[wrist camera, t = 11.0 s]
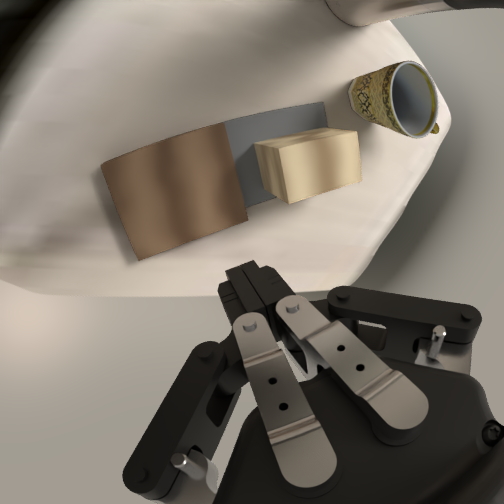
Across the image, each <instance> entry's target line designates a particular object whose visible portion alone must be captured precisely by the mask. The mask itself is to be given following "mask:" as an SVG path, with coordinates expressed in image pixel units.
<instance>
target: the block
mask: <svg viewBox="0 0 504 504" xmlns="http://www.w3.org/2000/svg"><path fill="white" fill-rule="evenodd" d="M254 146H255V150H256V155H257V160H258V164H259V169H260V173H261V178H262V183H263V187H264V189H265V190H266V191H268V192H270V193H271V194H273V195H275V196H276V197H278V198H280V199H281V200H283V201H285V202H286V203H288V204H291V203H294V202H297V201H300V200H303V199H306V198H309V197H312V196H315V195H319V194H322V193H325V192H328V191H331V190H334V189H337V188H341V187H344V186H347V185H350V184H353V183H357V182H360V181H362V172H361V161H360V152H359V143H358V134H357V131H350V130H342V129H333V128H324V127H323V128H318V129H313V130H308V131H303V132H299V133H294V134H290V135H285V136H281V137H277V138H273V139H268V140H264V141H260V142H256V143H254Z"/></svg>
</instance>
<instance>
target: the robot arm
mask: <svg viewBox="0 0 504 504" xmlns="http://www.w3.org/2000/svg"><path fill="white" fill-rule="evenodd" d="M326 2H327V4H328V6H329V8H330V9H331V10H332V11H333V13H334V14H335V15H336V16H337V17H338V18H340V19H341V20H342V21H344V22H346V23H348V24H350V25H353V26H359V27H360V26H366V25H369V24H373V23H378V22H382V21H387V20H391V19H396V18H400V17H406V16H412V15H418V14H424V13H431V12H439V11H447V10H461V9H474V8H504V0H326ZM225 272H226V276H227V279H228V281H225V282H223V283H220V284H219V287H218V294H219V296H220V299H221V302H222V304H223V307H224V309H225V312H226V314H227V317H228V319H229V321H230V324H231V326H232V330H231V333H230V334H229V336H228V337H227V338H226V339H225V340H223V341H222V342H220V343H217V342H214V341H207V342H203V343H201V344H199V345H197V346H196V347H195V348H194V349H193V350H192V352H191V354H190V356H189V357H188V359H187V360H186V362H185V364H184V366H183V367H182V369H181V371H180V372H179V374H178V376H177V378H176V379H175V381H174V383H173V385H172V386H171V388H170V390H169V391H168V393H167V395H166V397H165V398H164V400H163V402H162V403H161V405H160V407H159V409H158V410H157V412H156V414H155V416H154V417H153V419H152V421H151V423H150V424H149V426H148V428H147V429H146V431H145V433H144V435H143V436H142V438H141V440H140V442H139V443H138V445H137V447H136V448H135V450H134V452H133V454H132V455H131V457H130V459H129V461H128V462H127V464H126V466H125V468H124V470H123V474H122V476H123V482H124V484H125V486H126V487H127V488H128V489H129V490H130V491H132V492H134V493H137V494H139V495H141V496H143V497H144V498H146V499H148V500H151V501H153V502H156V503H159V504H504V426H503V425H501V424H499V423H498V422H497V421H496V420H495V418H494V416H493V414H492V412H491V410H490V408H489V405H488V402H487V398H486V394H485V391H484V389H483V387H482V386H481V384H480V383H479V382H478V381H477V380H475V378H473V377H471V376H470V367H471V353H472V343H473V340H474V338H475V336H476V334H477V331H478V329H479V326H480V324H481V321H482V317H481V314H480V312H479V311H478V310H477V309H476V308H475V307H473V306H471V305H467V304H460V303H453V302H446V301H439V300H433V299H426V298H419V297H412V296H406V295H400V294H394V293H387V292H380V291H375V290H369V289H362V288H357V287H350V286H339V287H335V288H333V289H332V290H331V291H330V292H329V293H328V295H327V299H323V300H318V301H308V300H306V299H305V298H304V297H302V296H298V295H296V294H295V293H294V292H293V291H292V289H291V288H290V287H289V286H288V284H287V283H286V282H285V281H284V280H283V278H282V277H281V276H280V275H279V274H278V272H277V271H276V270H275V269H274V268H271V267H269V266H264V267H261V268H259V267H258V265H257V264H256V263H255V261H254V260H252V261H250V262H247V263H244V264H242V265H240V266H237V267H234V268H231V269H229V270H226V271H225ZM359 320H360V321H365V322H370V323H375V324H381V325H383V326H385V327H386V328H387V329H384V328H379V327H373V326H368V325H363V324H359ZM281 340H282V342H283V344H284V346H285V350H286V353H287V354H288V356H289V357H290V358H291V359H292V361H293V362H294V364H295V365H296V366H297V367H298V369H299V370H300V371H301V373H302V374H303V375H304V376H305V378H306V379H307V381H303V382H298V381H297V379H296V377H295V375H294V373H293V371H292V369H291V367H290V365H289V363H288V360H287V358H286V356H285V354H284V352H283V350H282V349H279V347H278V344H277V342H278V341H281ZM248 382H250V385H251V388H252V391H253V393H254V396H255V399H256V402H257V405H258V406H257V407H256V408H255V409H254V410H253V411H252V412H251V413H250V414H249V415H248V417H247V418H246V419H245V421H244V423H243V425H242V428H241V430H240V433H239V436H238V439H237V442H236V444H235V447H234V449H233V452H232V455H231V457H230V460H229V463H228V466H227V468H226V471H225V473H224V476H223V478H222V481H221V483H220V486H219V488H218V490H217V479H218V470H217V467H216V466H215V465H214V463H212V462H211V460H212V457H213V455H214V453H215V451H216V449H217V446H218V444H219V442H220V439H221V437H222V435H223V433H224V431H225V428H226V426H227V424H228V422H229V419H230V417H231V415H232V412H233V410H234V407H235V405H236V403H237V400H238V398H239V396H240V393H241V387H243V386H244V385H245V384H246V383H248Z"/></svg>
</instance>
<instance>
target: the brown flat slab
mask: <svg viewBox="0 0 504 504" xmlns="http://www.w3.org/2000/svg"><path fill="white" fill-rule="evenodd" d="M101 168H102V171H103V174H104V176H105V179H106V182H107V185H108V188H109V190H110V193H111V196H112V198H113V201H114V203H115V206H116V209H117V211H118V214H119V216H120V219H121V221H122V224H123V226H124V228H125V231H126V233H127V236H128V238H129V240H130V243H131V245H132V247H133V249H134V252H135V254H136V256H137V258H138V261H140V260H142V259H145V258H148V257H150V256H153V255H155V254H158V253H161V252H163V251H166V250H168V249H171V248H174V247H176V246H179V245H182V244H184V243H187V242H190V241H192V240H195V239H198V238H201V237H203V236H206V235H209V234H211V233H214V232H217V231H220V230H222V229H225V228H228V227H231V226H234V225H236V224H239V223H242V222H245V221H248V216H247V212H246V208H245V204H244V200H243V196H242V192H241V188H240V184H239V180H238V176H237V172H236V168H235V164H234V160H233V156H232V152H231V148H230V144H229V140H228V136H227V132H226V128H225V124H224V123H218V124H214V125H211V126H207V127H203V128H200V129H197V130H193V131H190V132H187V133H183V134H180V135H177V136H174V137H171V138H168V139H165V140H162V141H159V142H156V143H153V144H151V145H148V146H145V147H142V148H140V149H137V150H134V151H132V152H129V153H126V154H124V155H121V156H119V157H116V158H114V159H112V160H109V161H107V162H104V163H103V164H102V165H101Z"/></svg>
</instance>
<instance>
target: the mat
mask: <svg viewBox="0 0 504 504" xmlns="http://www.w3.org/2000/svg"><path fill="white" fill-rule="evenodd" d="M222 123H224V124H225V128H226V132H227V136H228V140H229V144H230V148H231V152H232V156H233V160H234V164H235V168H236V172H237V176H238V180H239V184H240V188H241V192H242V196H243V200H244V204H245V208H246V207H249V206H252V205H255V204H258V203H261V202H264V201H267V200H270V199H273V198H276V196H275V195H273V194H271V193H270V192H268V191H266V190H265V189H264V187H263V183H262V178H261V173H260V169H259V164H258V160H257V155H256V150H255V146H254V143H256V142H260V141H264V140H268V139H273V138H277V137H281V136H285V135H290V134H294V133H299V132H303V131H308V130H313V129H318V128H323V127H324V128H328V126H327V120H326V114H325V109H324V103H323V102H320V103H313V104H307V105H300V106H295V107H289V108H284V109H278V110H273V111H268V112H264V113H259V114H254V115H250V116H246V117H241V118H237V119H233V120H229V121H225V122H222Z"/></svg>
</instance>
